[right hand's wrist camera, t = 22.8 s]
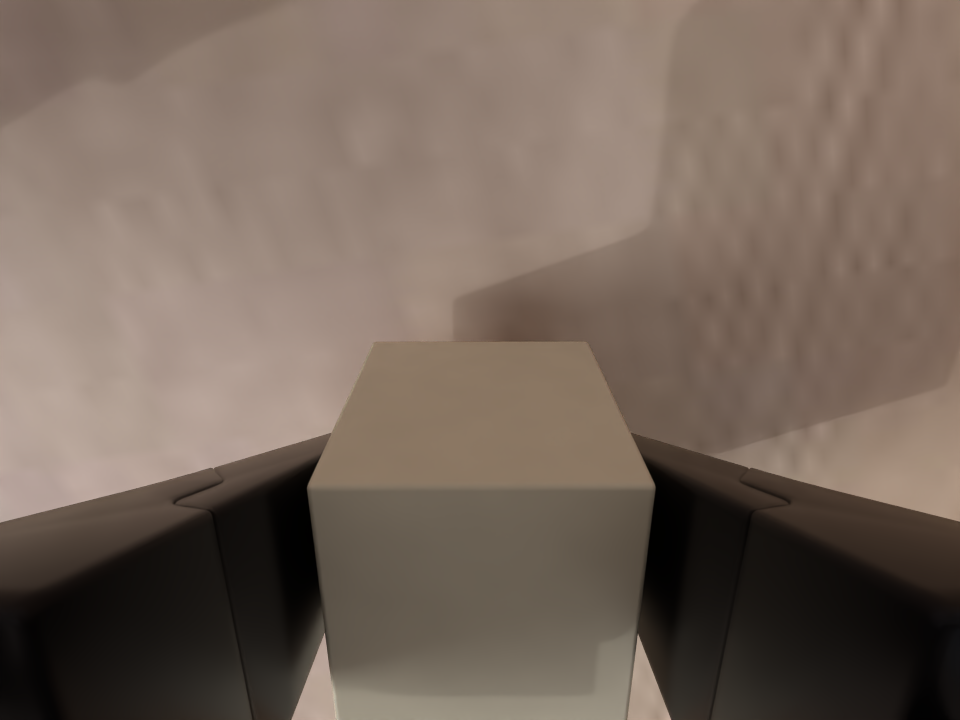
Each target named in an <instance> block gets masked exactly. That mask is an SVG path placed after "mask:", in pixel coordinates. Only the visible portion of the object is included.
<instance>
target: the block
mask: <svg viewBox="0 0 960 720" xmlns="http://www.w3.org/2000/svg"><path fill="white" fill-rule="evenodd" d="M655 489H656V487H655V484H654V482H653V479H652V477H651V475H650V473H649V471H648V469H647V467H646V465H645V463H644V460H643V458H642V456H641V454H640V452H639V450H638V448H637V446H636V443H635V441H634V439H633V437H632V435H631V433H630V431H629V429H628V426H627V424H626V422H625V420H624V418H623V416H622V414H621V412H620V409H619V407H618V405H617V403H616V401H615V399H614V397H613V395H612V392H611V390H610V388H609V386H608V384H607V382H606V380H605V378H604V375H603V373H602V371H601V369H600V367H599V365H598V363H597V361H596V358H595V356H594V354H593V352H592V350H591V348H590V346H589V344H588V342H585V341H576V342H375V343H373V345H372V347H371V349H370V351H369V353H368V355H367V358H366V360H365V362H364V364H363V366H362V368H361V371H360V373H359V375H358V377H357V379H356V381H355V384H354V386H353V388H352V390H351V392H350V394H349V397H348V399H347V401H346V403H345V405H344V407H343V410H342V412H341V414H340V416H339V418H338V420H337V423H336V425H335V427H334V429H333V431H332V434H331V436H330V438H329V440H328V442H327V444H326V447H325V449H324V451H323V453H322V455H321V457H320V460H319V462H318V464H317V466H316V468H315V470H314V473H313V475H312V477H311V479H310V481H309V483H308V486H307V493H308V501H309V509H310V517H311V525H312V533H313V541H314V549H315V557H316V565H317V573H318V581H319V588H320V596H321V604H322V612H323V620H324V628H325V636H326V644H327V652H328V660H329V668H330V676H331V684H332V691H333V699H334V707H335V715H336V720H627V717H628V709H629V700H630V692H631V684H632V676H633V668H634V660H635V652H636V643H637V635H638V627H639V619H640V611H641V603H642V595H643V586H644V578H645V570H646V562H647V554H648V546H649V538H650V529H651V521H652V513H653V505H654V497H655Z"/></svg>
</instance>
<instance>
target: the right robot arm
mask: <svg viewBox="0 0 960 720" xmlns="http://www.w3.org/2000/svg"><path fill="white" fill-rule="evenodd" d="M331 434H332V433H329V434H326V435H323V436H319V437H316V438H313V439H309V440H306V441H302V442H299V443H296V444H292V445H289V446H286V447H282V448H279V449H276V450H272V451H269V452H265V453H262V454H259V455H255V456H252V457H249V458H245V459H242V460H238V461H235V462H232V463H228V464H225V465H222V466H218V467H215V468H214V469H213V468H209V469H205V470H202V471H198V472H195V473H192V474H188V475H184V476H181V477H177V478H174V479H170V480H167V481H163V482H159V483H155V484H152V485H148V486H144V487H140V488H136V489H133V490H129V491H125V492H121V493H117V494H113V495H109V496H105V497H101V498H97V499H93V500H89V501H85V502H81V503H77V504H73V505H69V506H65V507H61V508H57V509H53V510H49V511H45V512H41V513H37V514H33V515H29V516H25V517H21V518H17V519H13V520H9V521H5V522H1V523H0V720H291V719H292V717H293V714H294V711H295V709H296V706H297V703H298V701H299V698H300V696H301V693H302V690H303V688H304V685H305V683H306V680H307V677H308V675H309V672H310V669H311V667H312V664H313V662H314V659H315V656H316V654H317V651H318V648H319V646H320V643H321V641H322V638H323V635H324V633H325V628H324V620H323V612H322V604H321V596H320V588H319V581H318V573H317V565H316V557H315V549H314V541H313V533H312V525H311V517H310V509H309V501H308V493H307V486H308V483H309V481H310V479H311V477H312V475H313V473H314V470H315V468H316V466H317V464H318V462H319V460H320V457H321V455H322V453H323V451H324V449H325V447H326V444H327V442H328V440H329V438H330V436H331ZM631 435H632V437H633V439H634V441H635V443H636V446H637V448H638V450H639V452H640V454H641V456H642V458H643V460H644V463H645V465H646V467H647V469H648V471H649V473H650V475H651V477H652V479H653V482H654V484H655V487H656V489H655V497H654V505H653V513H652V521H651V529H650V538H649V546H648V554H647V562H646V570H645V578H644V586H643V595H642V603H641V611H640V619H639V627H638V634H639V637H640V640H641V642H642V645H643V647H644V650H645V653H646V655H647V658H648V660H649V663H650V666H651V668H652V671H653V673H654V676H655V679H656V681H657V684H658V686H659V689H660V692H661V694H662V697H663V699H664V702H665V704H666V707H667V710H668V712H669V715H670V717H671V720H960V522H959V521H955V520H951V519H947V518H943V517H939V516H935V515H931V514H927V513H923V512H919V511H915V510H911V509H907V508H903V507H899V506H895V505H891V504H887V503H883V502H879V501H875V500H871V499H867V498H863V497H859V496H855V495H851V494H846V493H842V492H838V491H834V490H830V489H827V488H823V487H819V486H815V485H811V484H808V483H804V482H800V481H796V480H793V479H789V478H786V477H782V476H778V475H775V474H771V473H768V472H764V471H761V470H757V469H754V468H750V469H749V468H747V467H744V466H741V465H738V464H734V463H731V462H727V461H724V460H721V459H717V458H714V457H711V456H707V455H704V454H700V453H697V452H694V451H690V450H687V449H683V448H680V447H677V446H673V445H670V444H667V443H663V442H660V441H656V440H653V439H650V438H646V437H643V436H639V435H636V434H633V433H631Z"/></svg>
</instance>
